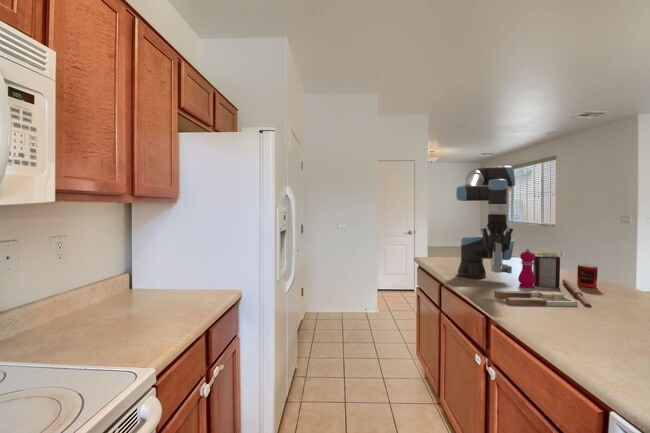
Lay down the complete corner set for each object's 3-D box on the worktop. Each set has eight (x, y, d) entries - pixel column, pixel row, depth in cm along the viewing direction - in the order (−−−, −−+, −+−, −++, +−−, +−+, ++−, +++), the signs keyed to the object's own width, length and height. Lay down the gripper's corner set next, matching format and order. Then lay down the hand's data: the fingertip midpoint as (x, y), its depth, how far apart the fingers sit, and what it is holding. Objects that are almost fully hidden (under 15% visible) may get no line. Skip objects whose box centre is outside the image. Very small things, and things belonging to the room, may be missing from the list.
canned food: (589, 284, 162) (589, 263, 162) (601, 289, 154) (601, 266, 154) (573, 284, 163) (573, 263, 163) (584, 288, 155) (585, 266, 155)
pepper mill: (538, 290, 152) (539, 249, 151) (523, 290, 152) (524, 249, 151) (529, 286, 159) (530, 247, 158) (515, 286, 159) (515, 247, 158)
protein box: (555, 281, 169) (556, 253, 168) (559, 288, 155) (560, 257, 155) (532, 279, 174) (533, 251, 173) (534, 285, 161) (535, 255, 160)
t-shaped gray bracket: (490, 270, 146) (490, 242, 146) (505, 270, 146) (505, 242, 145) (496, 273, 141) (496, 244, 140) (511, 273, 140) (512, 244, 140)
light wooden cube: (547, 300, 135) (547, 291, 135) (557, 301, 135) (557, 291, 134) (553, 303, 131) (554, 294, 131) (563, 304, 131) (564, 294, 130)
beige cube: (537, 300, 135) (537, 291, 135) (546, 300, 135) (547, 291, 135) (542, 303, 131) (543, 294, 131) (553, 303, 131) (553, 294, 131)
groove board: (494, 297, 141) (494, 290, 141) (526, 298, 140) (526, 290, 140) (510, 308, 127) (510, 300, 127) (546, 308, 126) (546, 300, 126)
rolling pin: (593, 311, 124) (593, 303, 124) (582, 309, 126) (583, 301, 125) (568, 284, 164) (568, 278, 164) (561, 283, 165) (561, 277, 165)
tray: (527, 298, 140) (527, 292, 140) (554, 298, 139) (554, 292, 139) (546, 308, 126) (547, 301, 126) (577, 308, 126) (577, 302, 126)
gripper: (482, 214, 139) (482, 266, 140) (519, 214, 138) (518, 267, 139) (475, 213, 147) (475, 263, 148) (510, 213, 146) (509, 263, 147)
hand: (496, 265), depth 143 cm, fingers closed on t-shaped gray bracket, 3 cm apart
